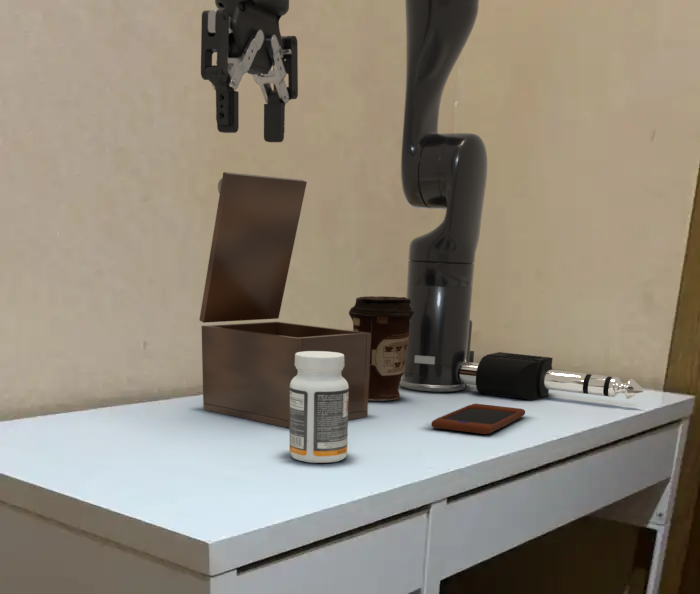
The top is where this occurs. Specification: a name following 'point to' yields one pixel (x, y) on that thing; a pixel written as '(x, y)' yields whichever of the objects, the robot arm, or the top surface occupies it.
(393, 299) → the coffee cup
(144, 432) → the top surface
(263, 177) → the lid
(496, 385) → the audio adapter
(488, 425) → the smartphone
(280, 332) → the walnut box
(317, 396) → the pill bottle
